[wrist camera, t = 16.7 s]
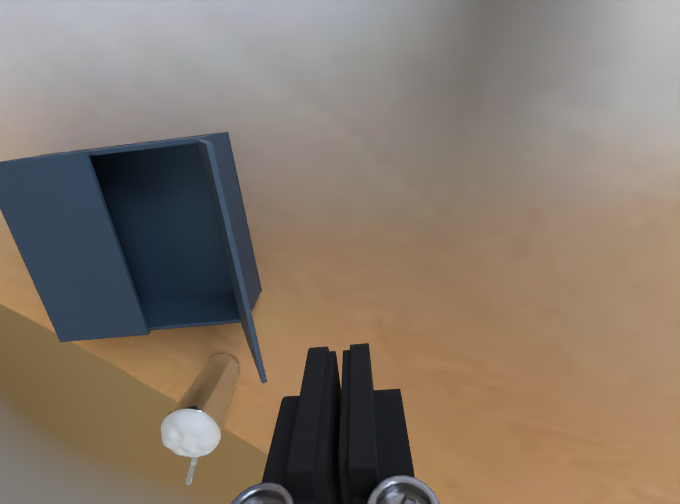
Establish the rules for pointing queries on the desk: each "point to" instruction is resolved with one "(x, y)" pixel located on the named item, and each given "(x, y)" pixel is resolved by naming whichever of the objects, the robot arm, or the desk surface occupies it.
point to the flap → (230, 250)
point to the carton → (128, 237)
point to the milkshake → (202, 411)
